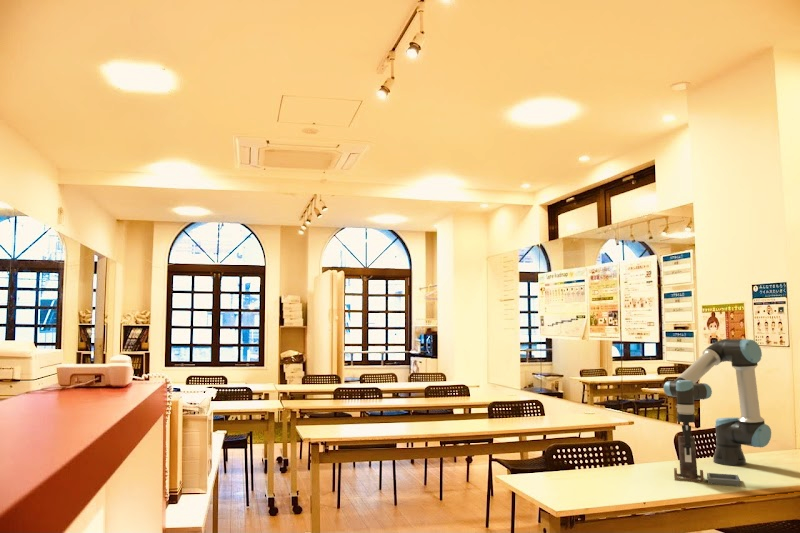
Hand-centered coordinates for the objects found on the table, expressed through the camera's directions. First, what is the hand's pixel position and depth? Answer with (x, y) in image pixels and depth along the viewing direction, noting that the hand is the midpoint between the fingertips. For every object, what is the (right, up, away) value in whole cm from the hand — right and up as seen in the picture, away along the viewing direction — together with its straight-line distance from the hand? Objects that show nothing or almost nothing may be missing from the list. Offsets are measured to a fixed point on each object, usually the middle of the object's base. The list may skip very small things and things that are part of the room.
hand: (687, 459), depth 301 cm
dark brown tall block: (0, -9, -1) cm, 9 cm away
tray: (+13, -8, -7) cm, 17 cm away
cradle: (0, -9, -1) cm, 9 cm away
